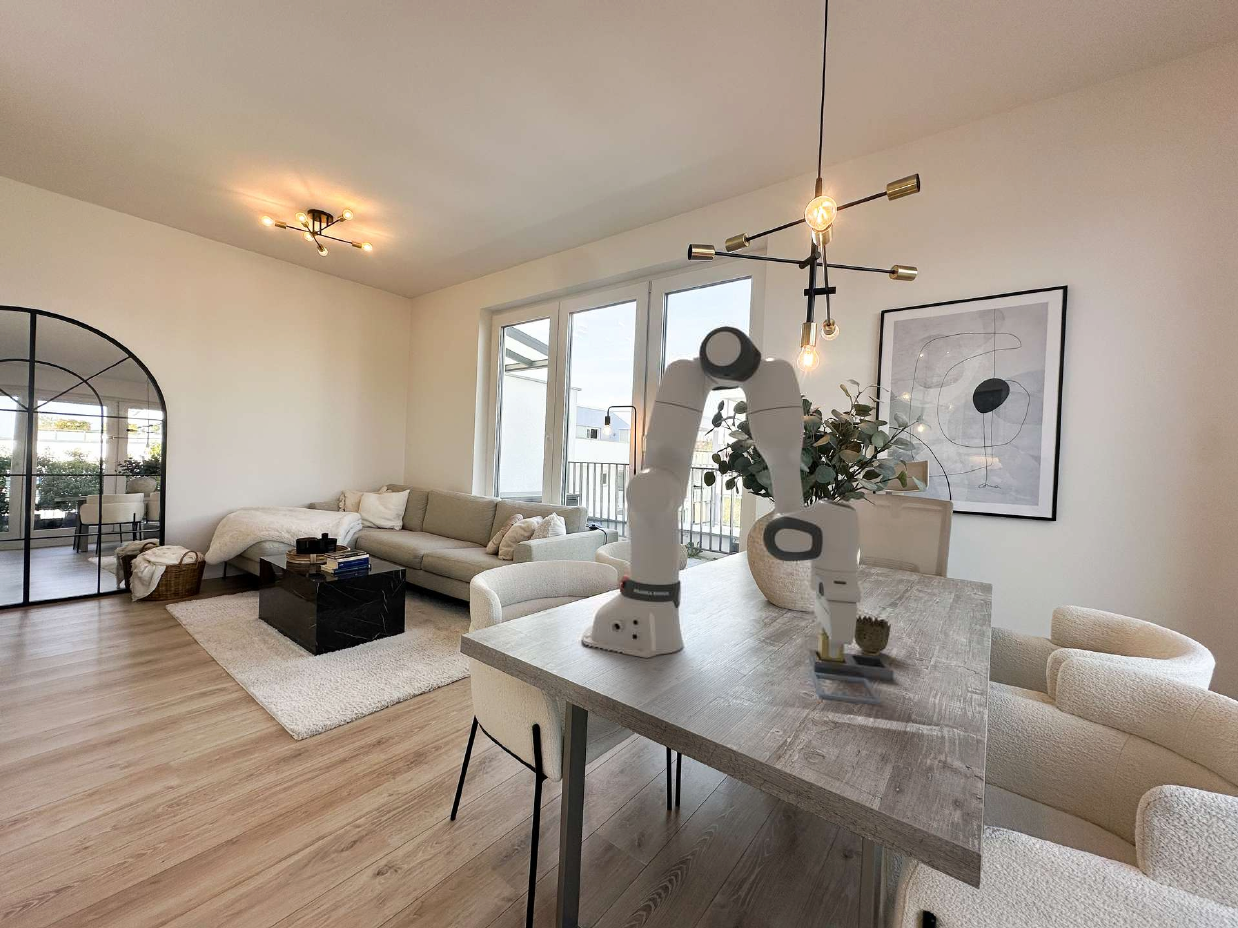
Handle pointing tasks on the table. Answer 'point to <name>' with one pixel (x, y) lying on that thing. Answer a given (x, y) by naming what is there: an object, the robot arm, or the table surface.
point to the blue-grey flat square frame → (874, 701)
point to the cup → (871, 635)
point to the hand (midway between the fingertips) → (830, 651)
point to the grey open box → (853, 666)
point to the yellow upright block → (823, 649)
